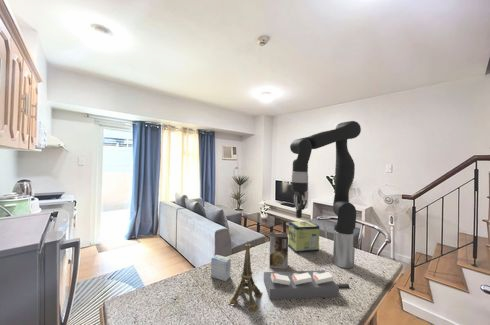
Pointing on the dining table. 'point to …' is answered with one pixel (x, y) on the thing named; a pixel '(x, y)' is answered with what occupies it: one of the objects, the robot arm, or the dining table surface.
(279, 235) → the coffee box
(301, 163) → the robot arm
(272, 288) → the switch panel
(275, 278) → the block
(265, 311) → the dining table surface
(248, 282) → the eiffel tower
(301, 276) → the block
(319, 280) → the rocker
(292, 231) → the protein box
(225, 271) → the medicine box
